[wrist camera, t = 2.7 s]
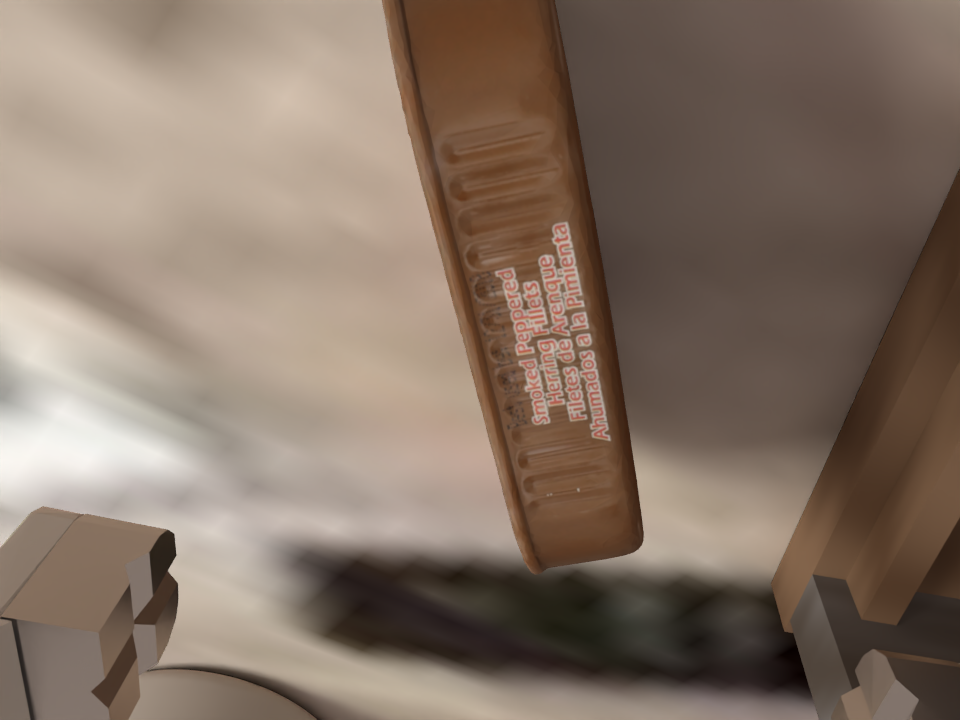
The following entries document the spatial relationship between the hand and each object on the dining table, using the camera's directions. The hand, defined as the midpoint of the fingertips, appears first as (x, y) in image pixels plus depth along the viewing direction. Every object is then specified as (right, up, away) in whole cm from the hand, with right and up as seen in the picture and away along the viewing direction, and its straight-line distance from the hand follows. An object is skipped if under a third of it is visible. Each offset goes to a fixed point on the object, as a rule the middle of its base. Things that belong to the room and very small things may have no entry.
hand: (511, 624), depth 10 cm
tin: (+1, +8, +12) cm, 14 cm away
